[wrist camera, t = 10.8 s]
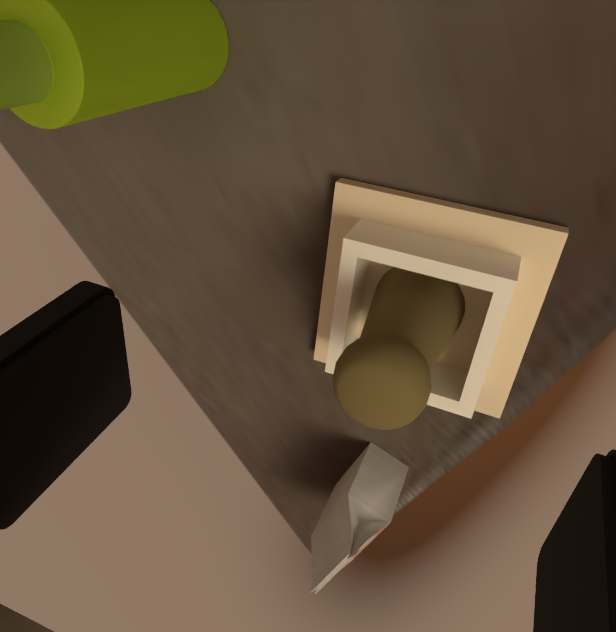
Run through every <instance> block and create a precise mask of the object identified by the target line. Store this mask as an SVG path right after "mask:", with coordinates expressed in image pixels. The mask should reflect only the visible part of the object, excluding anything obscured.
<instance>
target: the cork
mask: <svg viewBox="0 0 616 632" xmlns="http://www.w3.org/2000/svg"><path fill="white" fill-rule="evenodd" d="M464 313H465V298H464V296H463V293H462V291H461V288H460V286H459V284H458V283H455V282H451V281H447V280H443V279H439V278H436V277H432V276H428V275H424V274H420V273H416V272H412V271H408V270H405V269H401V268H397V267H393V268H392V269H390V270H389V271H388V272H386V273H385V274H384V275H383V277H382V278H381V280H380V281H379V283H378V284H377V287H376V290H375V293H374V296H373V299H372V302H371V305H370V308H369V311H368V314H367V317H366V321H365V324H364V327H363V330H362V333H361V336H360V338H359V339H357V340H356V341H354V342H353V343H351V344H350V345H348V346H347V347H346V348H345V350H344V351H343V352H342V354H341V355H340V357H339V358H338V360H337V361H336V365H335V369H334V374H333V379H332V381H333V387H334V393H335V395H336V398H337V400H338V402H339V404H340V406H341V407H342V409H343V410H344V411H345V412H346V413H347V414H348V415H349V416H350V417H351V418H353V419H354V420H356V421H357V422H359V423H360V424H362V425H365V426H368V427H370V428H373V429H381V430H389V429H396V428H400V427H402V426H405V425H407V424H409V423H411V422H413V421H414V420H415V419H416V417H417V416H418V415H419V414H420V413H421V412H422V411H423V410H424V409H425V407H426V404H427V401H428V399H429V396H430V392H431V374H430V371H431V369H432V367H433V366H434V364H435V363H436V361H437V360H438V358H439V357H440V355H441V354H442V352H443V351H444V349H445V347H446V346H447V344H448V343H449V341H450V340H451V338H452V337H453V335H454V334H455V332H456V330H457V329H458V327H459V326H460V324H461V322H462V319H463V316H464Z"/></svg>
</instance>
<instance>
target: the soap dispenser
mask: <svg viewBox="0 0 616 632" xmlns="http://www.w3.org/2000/svg"><path fill="white" fill-rule="evenodd" d="M228 52H229V42H228V35H227V30H226V27H225V24H224V21H223V19H222V17H221V15H220V13H219V11H218V10H217V8H216V7H215V6H214V4H213V3H212V2H211V1H210V0H0V110H3V109H8V108H9V109H10V110H11V111H12V112H13V113H14V114H16V115H17V116H18V117H19V118H21V119H22V120H24V121H25V122H27V123H29V124H31V125H33V126H35V127H39V128H43V129H56V128H60V127H64V126H68V125H71V124H75V123H79V122H83V121H87V120H90V119H94V118H98V117H102V116H105V115H109V114H113V113H117V112H121V111H124V110H128V109H132V108H136V107H139V106H143V105H147V104H151V103H155V102H158V101H162V100H166V99H170V98H173V97H177V96H181V95H185V94H189V93H192V92H196V91H200V90H203V89H206V88H208V87H210V86H212V85H213V84H214V83H215V82H216V81H217V80H218V79H219V78H220V76H221V75H222V73H223V71H224V69H225V66H226V63H227V59H228Z"/></svg>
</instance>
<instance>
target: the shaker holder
mask: <svg viewBox="0 0 616 632" xmlns="http://www.w3.org/2000/svg"><path fill="white" fill-rule="evenodd" d="M568 234H569V228H568V227H564V226H559V225H554V224H550V223H545V222H541V221H536V220H532V219H527V218H523V217H518V216H513V215H509V214H504V213H500V212H495V211H491V210H486V209H482V208H477V207H472V206H468V205H463V204H459V203H454V202H450V201H445V200H441V199H436V198H431V197H427V196H422V195H418V194H413V193H409V192H404V191H400V190H395V189H390V188H386V187H381V186H377V185H372V184H368V183H363V182H359V181H354V180H349V179H345V178H340V179H339V180H337V181H336V183H335V191H334V199H333V207H332V216H331V224H330V232H329V240H328V248H327V256H326V264H325V272H324V280H323V288H322V296H321V305H320V313H319V321H318V329H317V337H316V345H315V353H314V360H317V361H320V362H324V363H326V368H325V372H328V373H331V374H334V369H335V365H336V361H337V360H338V358H339V357H340V355H341V354H342V352H343V351H344V350H345V348H346V347H347V346H348V345H350V344H351V343H353V342H354V341H356V340H357V339H359V338H360V336H361V333H362V330H363V327H364V324H365V321H366V317H367V314H368V311H369V308H370V305H371V302H372V299H373V296H374V293H375V290H376V287H377V284H378V283H379V281H380V280H381V278H382V277H383V275H384V274H385V273H386V272H388V271H389V270H390V269H392V268H393V267H397V268H401V269H405V270H408V271H412V272H416V273H420V274H424V275H428V276H432V277H436V278H439V279H443V280H447V281H451V282H455V283H458V284H459V286H460V288H461V291H462V293H463V296H464V298H465V313H464V316H463V319H462V322H461V324H460V326H459V327H458V329H457V330H456V332H455V334H454V335H453V337H452V338H451V340H450V341H449V343H448V344H447V346H446V347H445V349H444V351H443V352H442V354H441V355H440V357H439V358H438V360H437V361H436V363H435V364H434V366H433V367H432V369H431V371H430V374H431V392H430V396H429V399H428V401H427V405H430V406H433V407H436V408H439V409H443V410H446V411H449V412H452V413H455V414H458V415H461V416H464V417H467V418H470V419H471V418H472V415H473V412H474V411H478V412H481V413H484V414H487V415H490V416H493V417H496V418H500V417H501V414H502V411H503V408H504V406H505V403H506V400H507V398H508V395H509V392H510V390H511V387H512V384H513V382H514V379H515V376H516V373H517V371H518V368H519V365H520V363H521V360H522V357H523V355H524V352H525V349H526V347H527V344H528V341H529V339H530V336H531V333H532V330H533V328H534V325H535V322H536V320H537V317H538V314H539V312H540V309H541V306H542V304H543V301H544V298H545V296H546V293H547V290H548V287H549V285H550V282H551V279H552V277H553V274H554V271H555V269H556V266H557V263H558V261H559V258H560V255H561V253H562V250H563V247H564V244H565V242H566V239H567V236H568Z"/></svg>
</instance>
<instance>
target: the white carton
mask: <svg viewBox="0 0 616 632" xmlns="http://www.w3.org/2000/svg"><path fill="white" fill-rule="evenodd" d="M408 468H409V467H408V466H406V465H404V464H403V463H401V462H400V461H398V460H397V459H395V458H394V457H392V456H391V455H389V454H388V453H386V452H385V451H383V450H382V449H380V448H379V447H377V446H376V445H374V444H373V443H371V442H370V444H369V445H368V446H367V447H366V449H365V450H364V451H363V452H362V453H361V455H360V456H359V457H358V458H357V459H356V461H355V462H354V463H353V464H352V465H351V467H350V468H349V469H348V470H347V472H346V473H345V474H344V475H343V476H342V478H341V479H340V480H339V481H338V482H337V484H336V485H335V487H334V489H333V491H332V493H331V495H330V498H329V500H328V502H327V504H326V506H325V508H324V510H323V512H322V515H321V517H320V519H319V521H318V523H317V525H316V527H315V529H314V532H313V534H312V536H311V545H312V566H313V567H312V568H313V571H312V586H311V592H312V591H314V590H316V589H317V590H316V593H317V592H318V591H319V590H320V589H321V588H322V587H323V586H324V585H325V584H326V583H327V582H328V581H329V580H330V579H331V578H332V577H333V576H334V575H335V574H336V573H337V572H338V571H340V570H341V569H342V568H344V567H345V566H346V565H347V564H349V563H350V562H351V561H352V560H353V559H354V558H355V557H356V556H357V555H358V554H359V553H360V552H361V551H362V550H363V549H364V548H365V547H366V546H367V545H368V544H369V543H370V542H371V541H372V540H373V539H374V538H375V537H376V536H377V535H378V534H379V533H380V532H381V531H382V530H383V529H384V528H385V527H386V526H387V525H388V524H390V522H391V520H392V517H393V514H394V511H395V508H396V505H397V501H398V498H399V495H400V492H401V489H402V486H403V483H404V480H405V477H406V474H407V471H408ZM316 593H315V594H316Z"/></svg>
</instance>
